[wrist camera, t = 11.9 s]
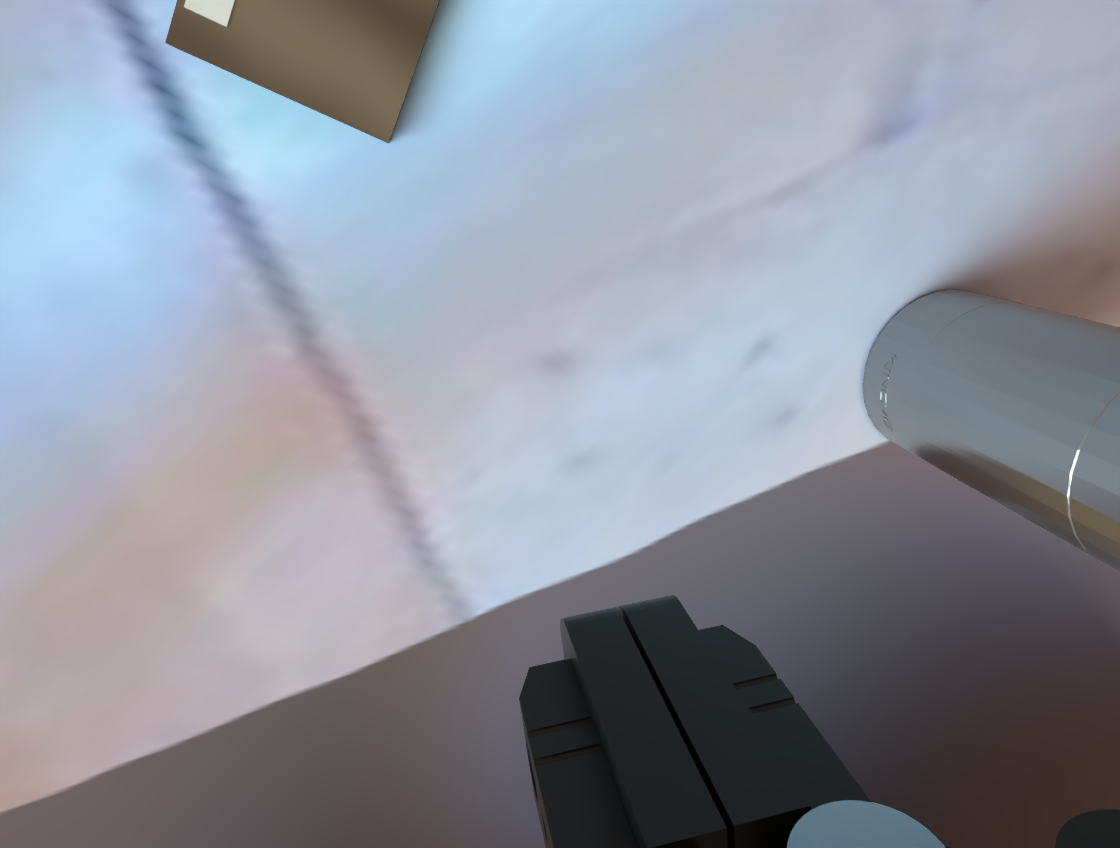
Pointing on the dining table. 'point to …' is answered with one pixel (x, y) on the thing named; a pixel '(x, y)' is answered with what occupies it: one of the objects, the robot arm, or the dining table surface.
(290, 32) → the wooden base plate
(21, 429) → the dining table surface
